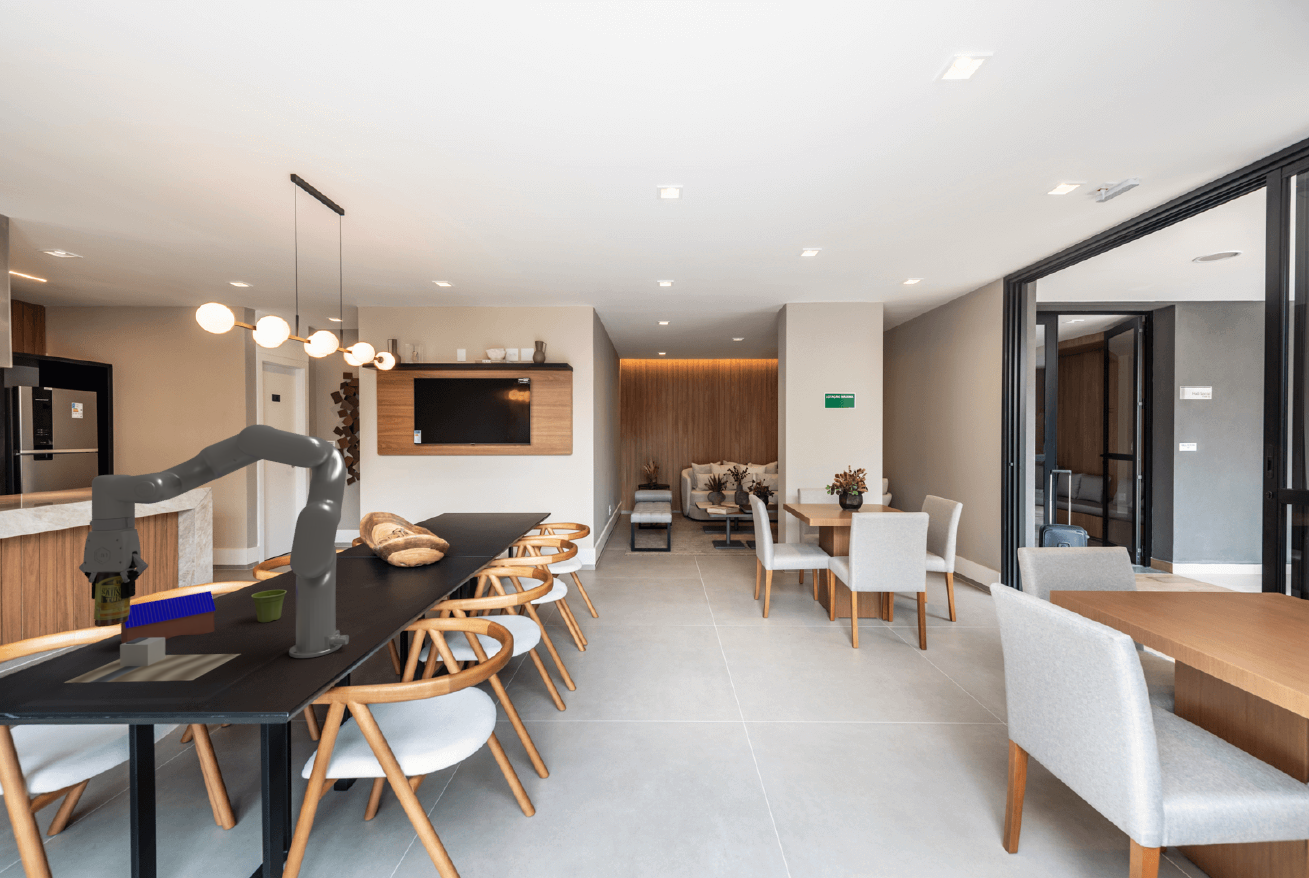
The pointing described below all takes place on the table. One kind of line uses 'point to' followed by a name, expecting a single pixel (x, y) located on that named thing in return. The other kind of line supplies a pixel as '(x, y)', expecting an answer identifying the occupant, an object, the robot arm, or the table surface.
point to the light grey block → (142, 651)
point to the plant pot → (269, 604)
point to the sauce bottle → (110, 600)
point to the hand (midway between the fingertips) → (113, 596)
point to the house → (170, 617)
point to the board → (157, 669)
